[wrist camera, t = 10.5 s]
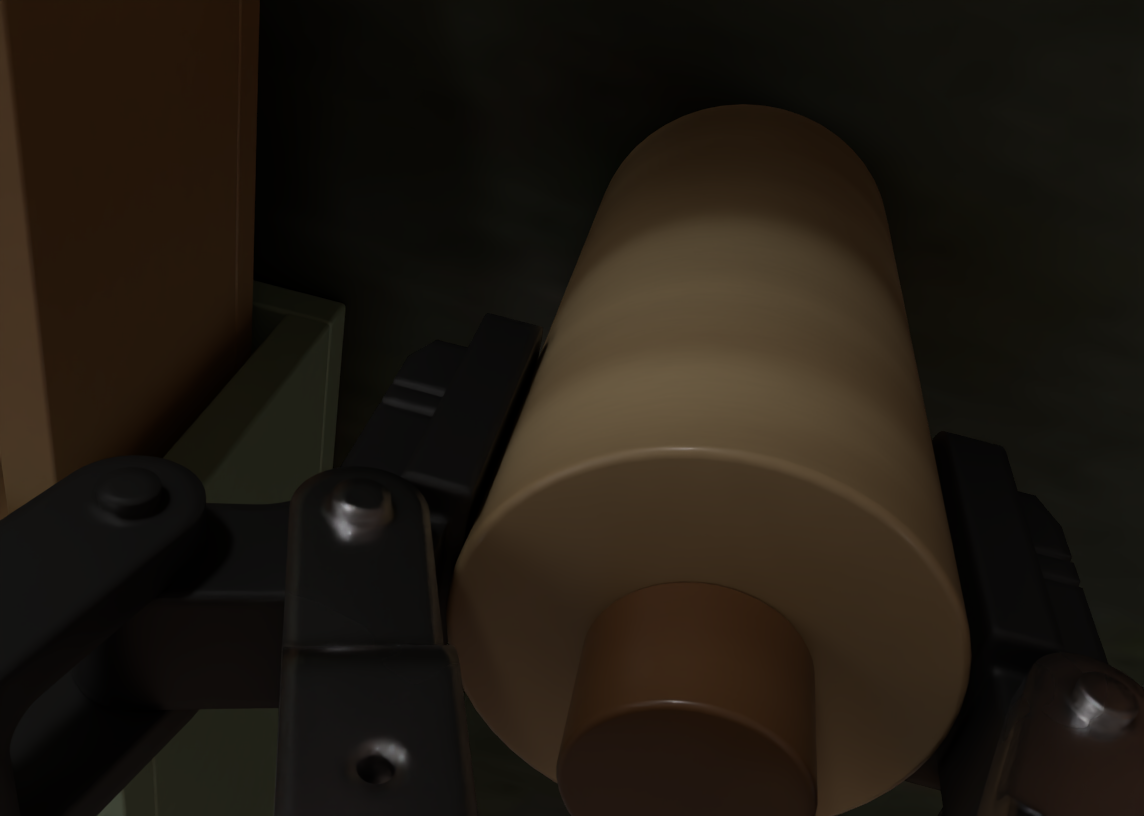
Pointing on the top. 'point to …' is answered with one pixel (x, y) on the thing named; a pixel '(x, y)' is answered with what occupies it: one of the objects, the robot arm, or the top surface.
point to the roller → (720, 499)
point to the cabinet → (249, 476)
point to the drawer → (121, 226)
